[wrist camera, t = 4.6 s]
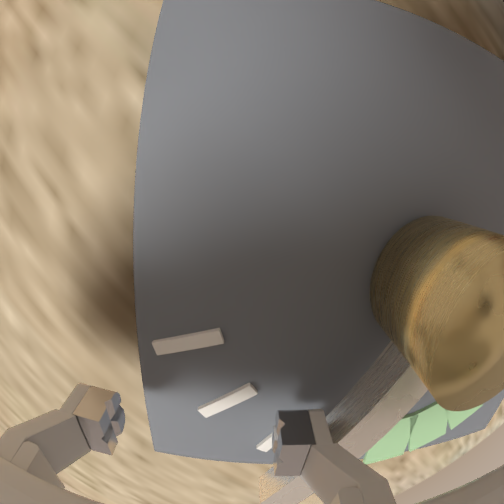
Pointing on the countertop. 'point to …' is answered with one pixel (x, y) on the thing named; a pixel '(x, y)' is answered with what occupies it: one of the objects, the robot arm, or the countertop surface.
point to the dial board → (295, 207)
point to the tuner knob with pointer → (422, 336)
